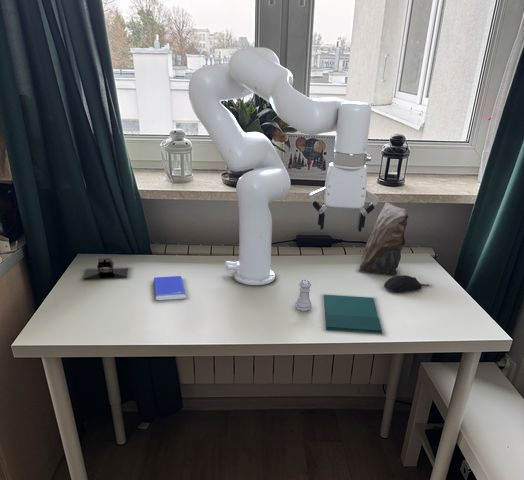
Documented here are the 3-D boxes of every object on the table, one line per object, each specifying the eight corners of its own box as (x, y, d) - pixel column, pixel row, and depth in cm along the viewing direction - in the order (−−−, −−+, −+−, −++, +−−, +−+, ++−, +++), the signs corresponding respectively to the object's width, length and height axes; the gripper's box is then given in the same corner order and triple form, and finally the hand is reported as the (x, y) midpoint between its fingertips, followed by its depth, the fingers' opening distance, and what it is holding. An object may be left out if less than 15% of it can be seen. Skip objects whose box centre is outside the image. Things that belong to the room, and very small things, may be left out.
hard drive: (185, 293, 140) (181, 275, 151) (155, 295, 139) (153, 277, 149) (185, 298, 141) (181, 280, 151) (155, 300, 140) (154, 282, 150)
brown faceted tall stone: (370, 258, 171) (380, 199, 161) (407, 267, 166) (419, 206, 156) (356, 270, 162) (365, 208, 152) (395, 280, 157) (407, 216, 146)
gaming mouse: (434, 290, 151) (437, 277, 149) (389, 294, 148) (392, 282, 146) (423, 281, 157) (425, 269, 154) (379, 285, 153) (381, 273, 151)
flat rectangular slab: (326, 329, 129) (326, 327, 128) (324, 295, 146) (324, 293, 145) (381, 333, 128) (382, 330, 127) (373, 298, 145) (373, 296, 144)
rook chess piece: (310, 312, 136) (312, 285, 132) (294, 310, 137) (296, 283, 133) (312, 305, 140) (314, 278, 136) (296, 303, 141) (298, 277, 136)
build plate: (84, 279, 150) (81, 265, 147) (87, 270, 156) (84, 256, 153) (127, 278, 152) (125, 263, 149) (128, 268, 158) (126, 254, 155)
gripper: (383, 158, 124) (372, 226, 133) (312, 154, 124) (306, 222, 133) (387, 164, 117) (375, 235, 127) (313, 160, 118) (306, 231, 127)
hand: (340, 228), depth 130 cm, fingers open, 9 cm apart
